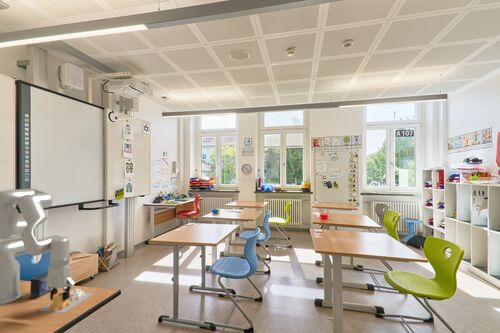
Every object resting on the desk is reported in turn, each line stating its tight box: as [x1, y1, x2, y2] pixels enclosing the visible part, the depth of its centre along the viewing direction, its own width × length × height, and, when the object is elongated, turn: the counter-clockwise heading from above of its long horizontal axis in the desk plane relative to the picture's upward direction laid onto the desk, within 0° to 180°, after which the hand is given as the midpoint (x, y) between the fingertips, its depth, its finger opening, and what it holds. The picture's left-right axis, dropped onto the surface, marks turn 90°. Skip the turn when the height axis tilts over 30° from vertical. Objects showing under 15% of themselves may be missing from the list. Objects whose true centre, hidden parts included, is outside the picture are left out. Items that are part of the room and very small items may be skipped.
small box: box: [29, 271, 58, 299], centre depth 134 cm, size 11×6×10 cm, turn 168°
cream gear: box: [67, 288, 85, 301], centre depth 127 cm, size 8×8×3 cm
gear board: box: [39, 288, 95, 314], centre depth 122 cm, size 14×18×5 cm
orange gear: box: [49, 291, 70, 311], centre depth 118 cm, size 8×8×6 cm
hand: (60, 298), depth 118 cm, fingers open, 6 cm apart
